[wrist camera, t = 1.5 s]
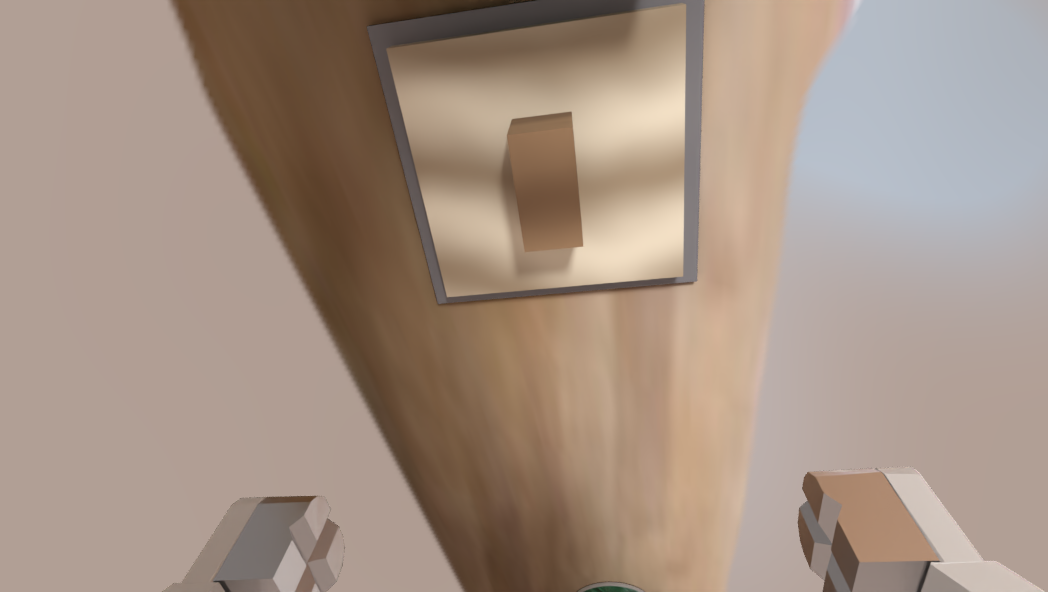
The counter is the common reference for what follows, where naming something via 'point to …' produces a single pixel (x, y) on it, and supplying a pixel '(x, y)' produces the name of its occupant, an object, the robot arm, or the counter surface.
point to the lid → (551, 150)
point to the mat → (548, 6)
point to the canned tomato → (610, 587)
